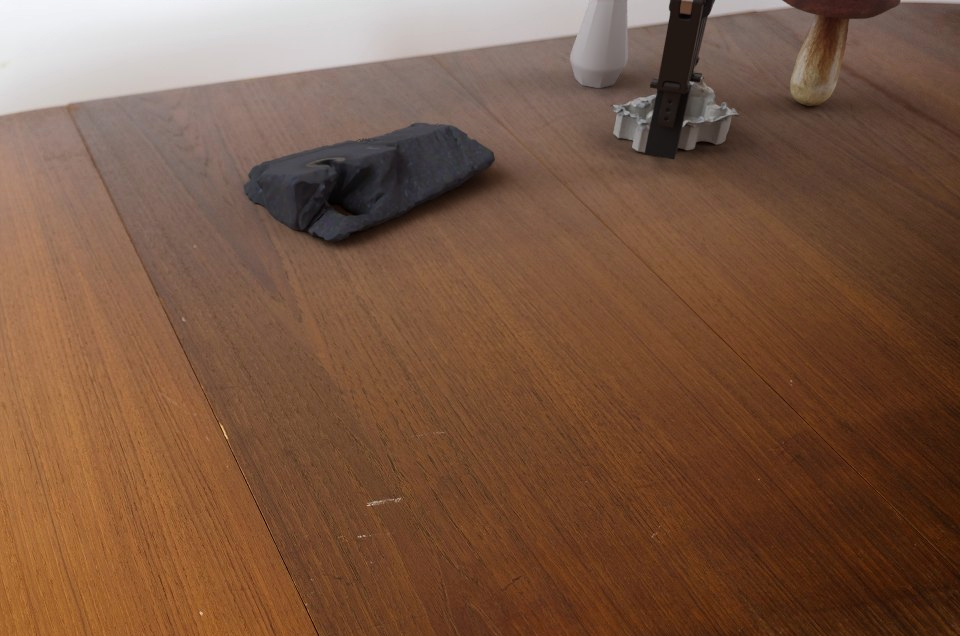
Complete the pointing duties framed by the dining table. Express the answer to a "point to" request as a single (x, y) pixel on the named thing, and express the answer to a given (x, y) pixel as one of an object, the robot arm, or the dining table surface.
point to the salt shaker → (601, 44)
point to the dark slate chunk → (366, 178)
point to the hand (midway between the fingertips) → (660, 153)
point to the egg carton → (698, 122)
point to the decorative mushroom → (827, 44)
